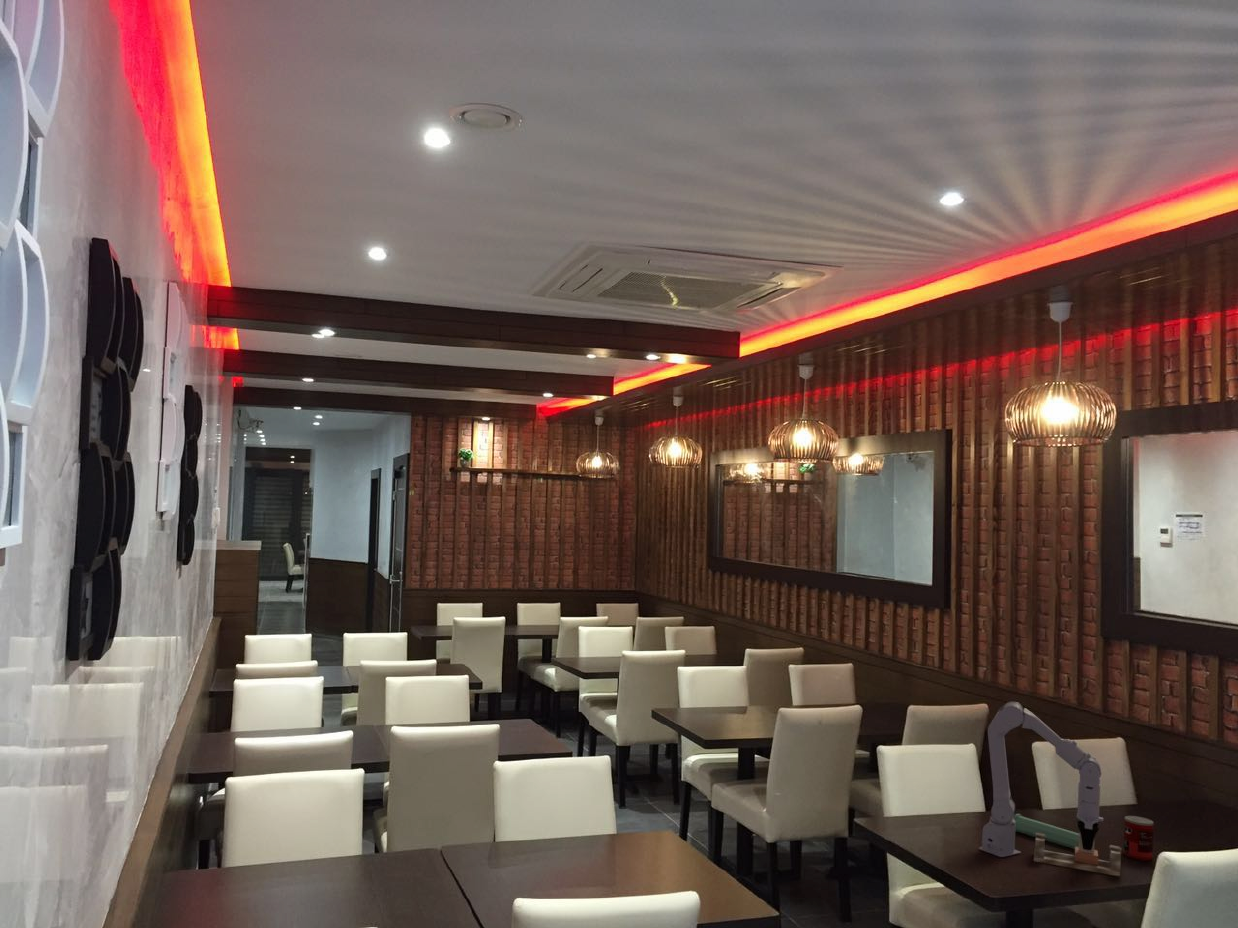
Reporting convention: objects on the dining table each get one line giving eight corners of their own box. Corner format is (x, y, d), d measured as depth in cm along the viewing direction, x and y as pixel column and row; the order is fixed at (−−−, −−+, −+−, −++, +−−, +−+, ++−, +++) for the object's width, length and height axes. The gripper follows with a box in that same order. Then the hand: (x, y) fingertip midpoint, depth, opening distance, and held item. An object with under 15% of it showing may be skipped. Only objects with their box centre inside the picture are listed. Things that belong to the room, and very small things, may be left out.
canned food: (1126, 850, 314) (1127, 813, 314) (1155, 856, 309) (1156, 820, 309) (1120, 855, 308) (1121, 818, 308) (1149, 862, 303) (1150, 824, 303)
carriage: (1074, 861, 294) (1075, 834, 294) (1074, 856, 299) (1075, 829, 300) (1097, 865, 292) (1098, 838, 292) (1097, 859, 297) (1098, 832, 297)
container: (1095, 832, 310) (1019, 809, 329) (1086, 842, 306) (1009, 819, 326) (1098, 849, 311) (1022, 825, 330) (1089, 859, 307) (1012, 835, 327)
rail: (1033, 860, 297) (1034, 837, 298) (1034, 853, 305) (1034, 830, 305) (1121, 876, 288) (1122, 852, 288) (1120, 868, 295) (1120, 844, 296)
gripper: (1104, 808, 288) (1103, 857, 287) (1103, 797, 301) (1101, 843, 301) (1077, 804, 291) (1075, 852, 290) (1076, 793, 304) (1075, 839, 304)
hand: (1087, 847), depth 296 cm, fingers closed on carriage, 2 cm apart
